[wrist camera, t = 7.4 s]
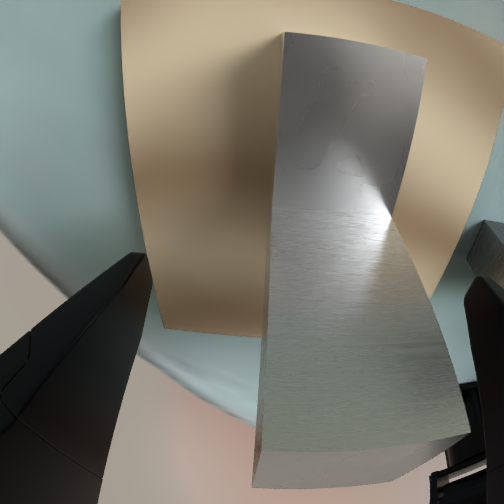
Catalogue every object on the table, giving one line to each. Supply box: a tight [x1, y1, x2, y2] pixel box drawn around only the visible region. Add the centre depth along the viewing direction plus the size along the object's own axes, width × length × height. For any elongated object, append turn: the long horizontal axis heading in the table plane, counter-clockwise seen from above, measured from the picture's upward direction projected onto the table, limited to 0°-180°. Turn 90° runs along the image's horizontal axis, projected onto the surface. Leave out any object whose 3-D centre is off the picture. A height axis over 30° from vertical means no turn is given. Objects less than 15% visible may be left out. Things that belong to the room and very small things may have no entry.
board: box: [121, 0, 504, 338], centre depth 11 cm, size 14×12×1 cm
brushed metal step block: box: [252, 32, 471, 489], centre depth 6 cm, size 7×3×8 cm, turn 178°
